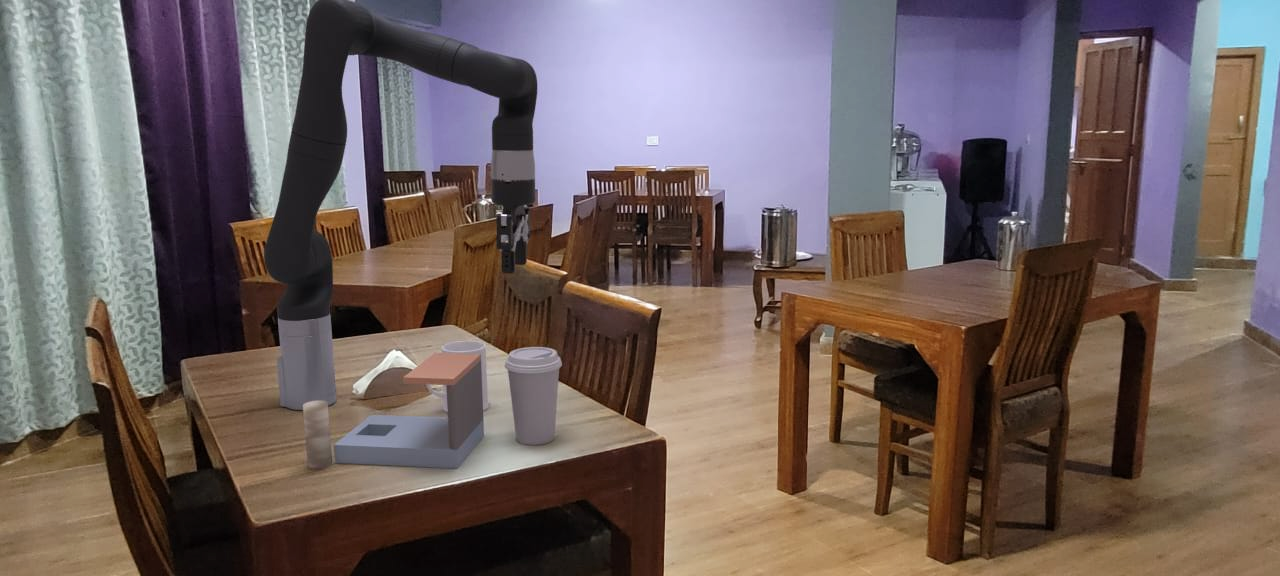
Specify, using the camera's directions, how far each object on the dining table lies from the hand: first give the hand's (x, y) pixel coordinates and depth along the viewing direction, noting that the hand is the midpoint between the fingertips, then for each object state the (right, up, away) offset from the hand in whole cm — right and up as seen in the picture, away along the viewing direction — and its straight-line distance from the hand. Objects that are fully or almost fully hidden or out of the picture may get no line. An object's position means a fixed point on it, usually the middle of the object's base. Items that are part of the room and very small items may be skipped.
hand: (514, 268), depth 149 cm
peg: (-28, -31, -16) cm, 45 cm away
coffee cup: (+4, -29, -5) cm, 30 cm away
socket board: (-15, -30, -10) cm, 35 cm away
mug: (-12, -26, +9) cm, 30 cm away
